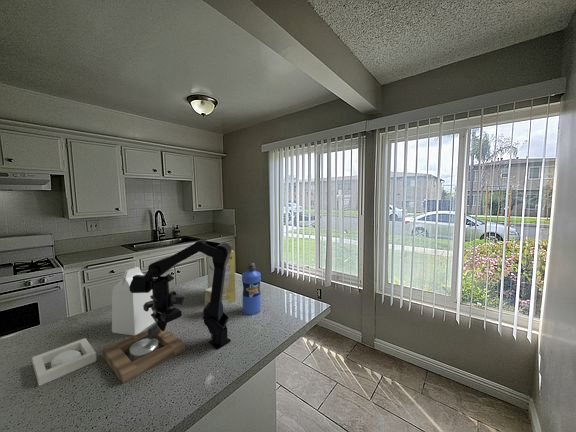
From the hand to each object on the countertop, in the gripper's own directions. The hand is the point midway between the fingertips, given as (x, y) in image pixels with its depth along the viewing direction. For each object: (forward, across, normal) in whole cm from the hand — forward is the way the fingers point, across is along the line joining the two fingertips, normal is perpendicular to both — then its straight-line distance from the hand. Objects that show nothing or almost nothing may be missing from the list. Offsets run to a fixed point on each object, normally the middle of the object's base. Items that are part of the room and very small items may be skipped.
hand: (163, 330), depth 92 cm
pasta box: (+5, +16, -40) cm, 43 cm away
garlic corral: (+4, +16, +26) cm, 31 cm away
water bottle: (+6, -9, -39) cm, 41 cm away
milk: (+4, +22, +2) cm, 23 cm away
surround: (+5, -1, +7) cm, 9 cm away
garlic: (+5, +15, +25) cm, 30 cm away
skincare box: (+5, +4, -26) cm, 27 cm away
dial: (+5, 0, +5) cm, 7 cm away
